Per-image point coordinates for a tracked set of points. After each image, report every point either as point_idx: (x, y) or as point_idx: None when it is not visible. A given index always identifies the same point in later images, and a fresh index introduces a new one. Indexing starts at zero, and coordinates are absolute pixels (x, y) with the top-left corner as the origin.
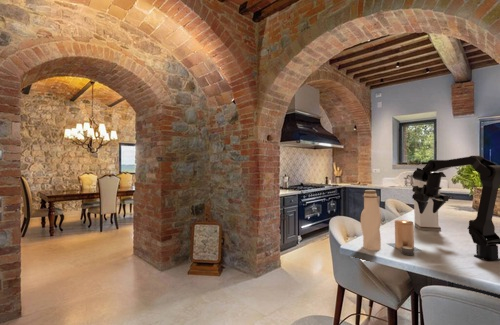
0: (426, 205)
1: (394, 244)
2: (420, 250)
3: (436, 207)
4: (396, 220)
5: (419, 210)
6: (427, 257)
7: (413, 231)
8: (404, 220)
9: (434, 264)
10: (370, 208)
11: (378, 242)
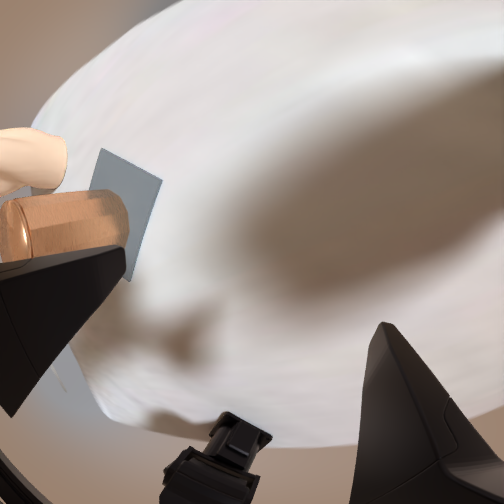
0: (37, 377)
1: (111, 172)
2: (124, 276)
3: (374, 434)
4: (5, 206)
5: (83, 252)
6: (102, 312)
7: None
8: (19, 231)
9: (84, 336)
10: None
11: (35, 187)
